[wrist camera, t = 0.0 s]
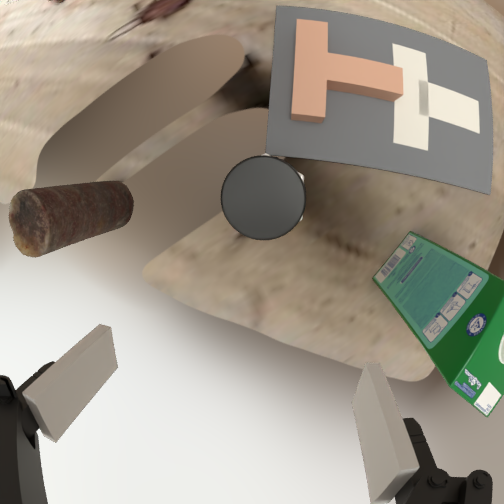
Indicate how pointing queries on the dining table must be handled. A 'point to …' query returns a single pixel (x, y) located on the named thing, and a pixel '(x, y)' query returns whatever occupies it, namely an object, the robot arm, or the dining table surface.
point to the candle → (67, 214)
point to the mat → (389, 104)
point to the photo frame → (10, 2)
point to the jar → (263, 197)
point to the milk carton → (451, 315)
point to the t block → (334, 74)
